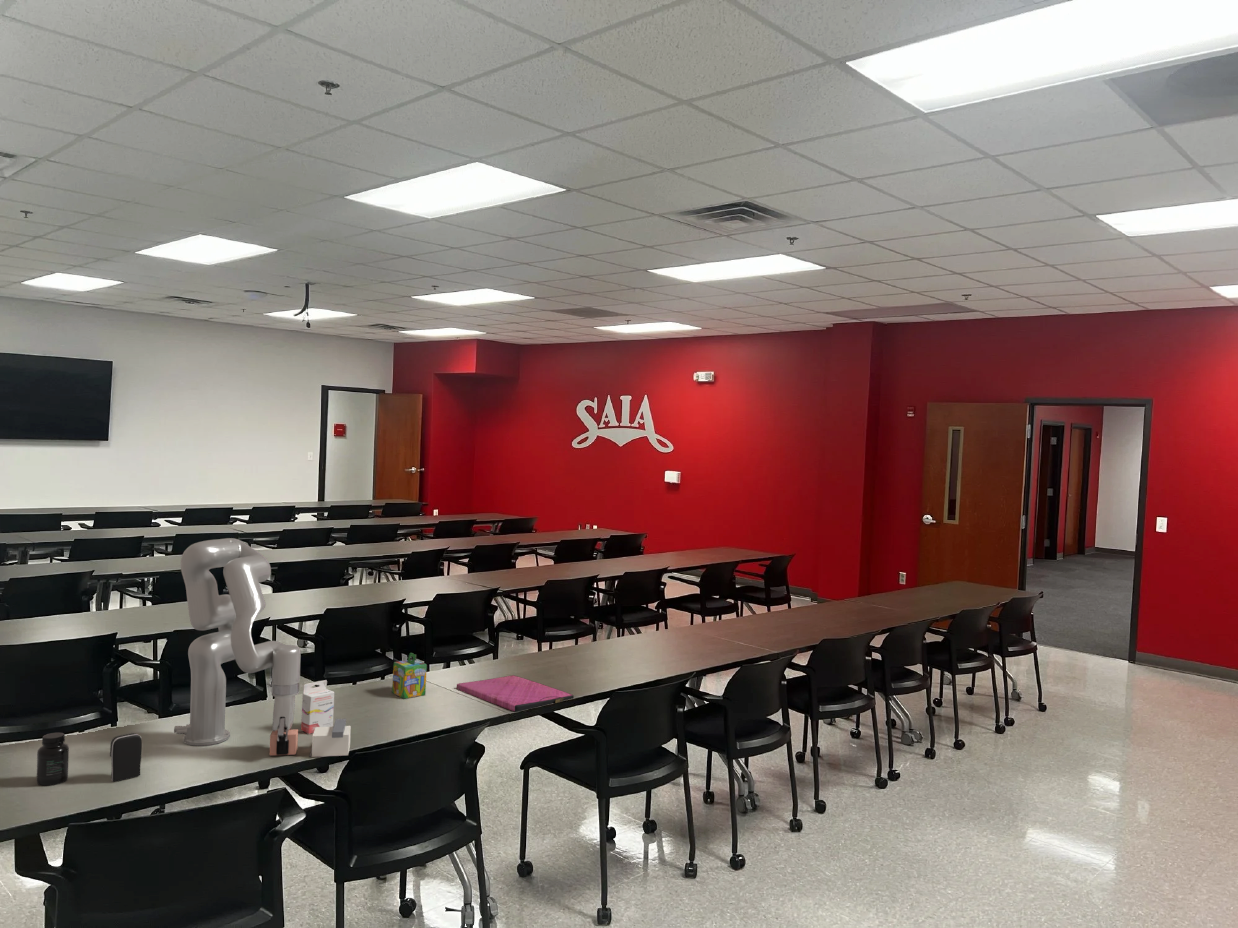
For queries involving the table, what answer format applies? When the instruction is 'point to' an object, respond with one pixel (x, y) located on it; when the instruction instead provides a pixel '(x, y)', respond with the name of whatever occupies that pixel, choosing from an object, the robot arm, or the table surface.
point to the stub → (291, 737)
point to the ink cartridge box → (317, 707)
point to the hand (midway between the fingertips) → (283, 750)
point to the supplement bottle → (52, 760)
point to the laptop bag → (514, 692)
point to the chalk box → (409, 678)
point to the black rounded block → (125, 756)
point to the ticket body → (331, 740)
